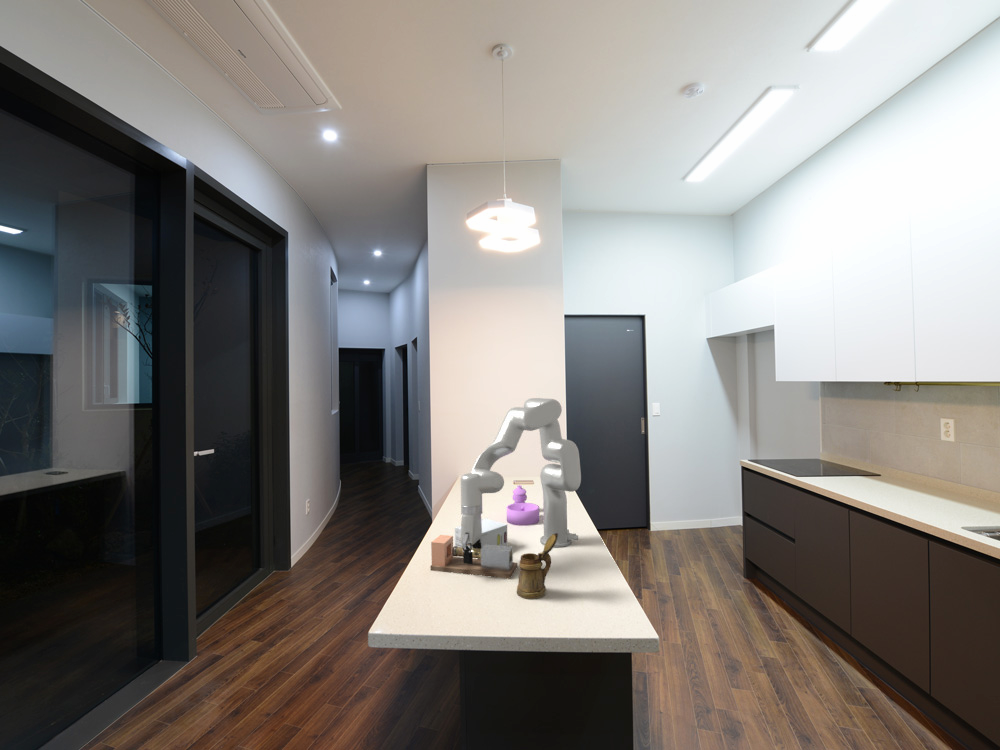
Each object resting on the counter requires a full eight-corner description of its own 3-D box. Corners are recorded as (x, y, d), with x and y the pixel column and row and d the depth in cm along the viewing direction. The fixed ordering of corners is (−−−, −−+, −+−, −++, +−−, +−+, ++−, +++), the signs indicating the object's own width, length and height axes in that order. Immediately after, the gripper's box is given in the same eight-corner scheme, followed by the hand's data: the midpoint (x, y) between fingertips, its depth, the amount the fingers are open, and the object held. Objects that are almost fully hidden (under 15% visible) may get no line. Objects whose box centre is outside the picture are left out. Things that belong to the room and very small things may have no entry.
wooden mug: (562, 596, 142) (561, 537, 142) (519, 600, 140) (518, 540, 140) (555, 584, 151) (554, 528, 151) (514, 587, 149) (513, 531, 149)
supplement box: (477, 559, 173) (477, 534, 173) (454, 551, 182) (454, 527, 182) (508, 547, 185) (508, 523, 185) (485, 539, 194) (484, 517, 194)
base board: (517, 567, 165) (517, 562, 165) (510, 578, 156) (510, 574, 156) (441, 559, 173) (441, 555, 173) (430, 570, 164) (430, 565, 164)
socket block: (453, 557, 171) (452, 535, 171) (444, 566, 163) (444, 543, 163) (440, 556, 172) (440, 534, 172) (431, 564, 165) (431, 542, 165)
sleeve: (512, 565, 163) (512, 546, 163) (509, 571, 158) (508, 551, 158) (485, 562, 166) (485, 544, 166) (481, 568, 161) (480, 549, 161)
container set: (541, 525, 212) (541, 496, 212) (508, 526, 211) (507, 497, 211) (534, 509, 237) (533, 483, 237) (504, 510, 236) (503, 484, 236)
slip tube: (510, 559, 162) (510, 549, 162) (508, 563, 159) (508, 553, 159) (455, 554, 168) (455, 544, 168) (452, 557, 165) (452, 548, 165)
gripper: (470, 502, 174) (471, 548, 174) (452, 515, 157) (453, 566, 157) (489, 503, 172) (490, 550, 172) (473, 517, 155) (474, 569, 155)
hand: (472, 558), depth 165 cm, fingers open, 8 cm apart
